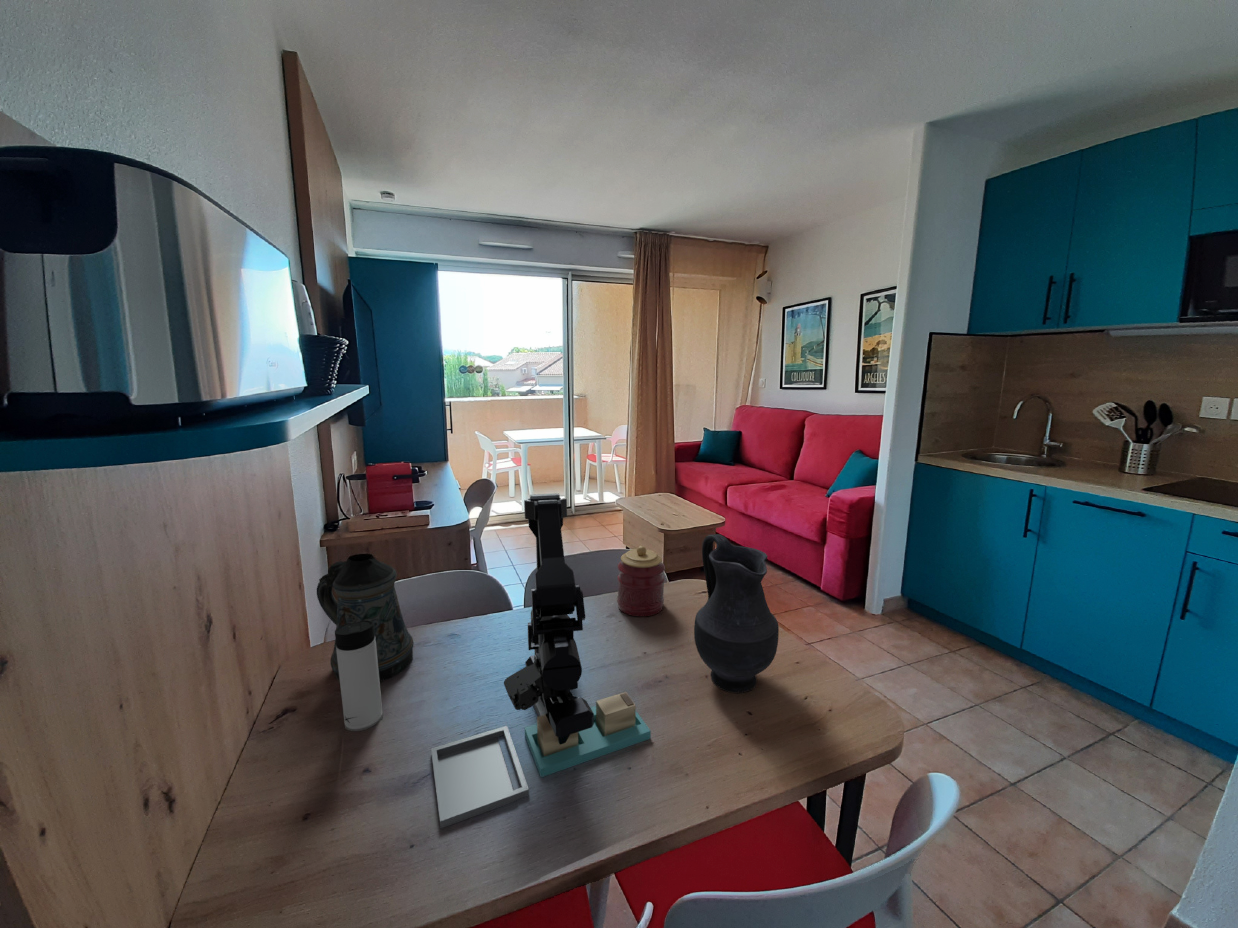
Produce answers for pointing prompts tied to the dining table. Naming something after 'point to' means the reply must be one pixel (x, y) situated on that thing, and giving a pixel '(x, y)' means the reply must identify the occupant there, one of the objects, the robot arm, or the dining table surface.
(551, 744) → the block
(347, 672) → the travel mug
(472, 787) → the grey tray
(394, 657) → the beer stein
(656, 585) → the canister
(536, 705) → the button housing
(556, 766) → the teal block holder tray
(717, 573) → the pitcher
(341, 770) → the dining table surface
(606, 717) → the block
